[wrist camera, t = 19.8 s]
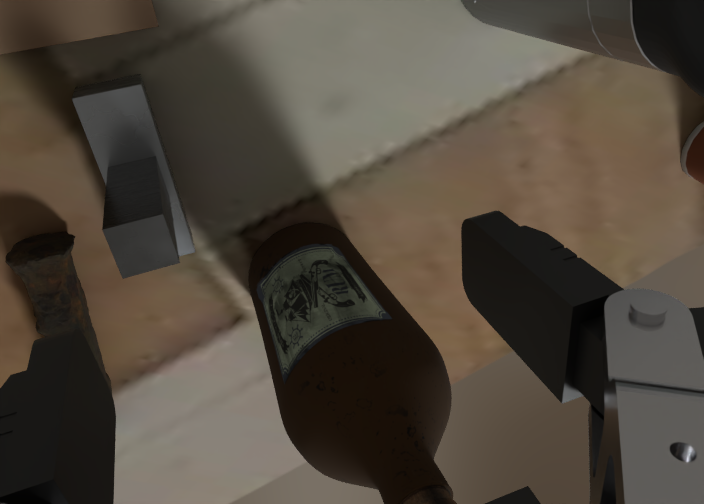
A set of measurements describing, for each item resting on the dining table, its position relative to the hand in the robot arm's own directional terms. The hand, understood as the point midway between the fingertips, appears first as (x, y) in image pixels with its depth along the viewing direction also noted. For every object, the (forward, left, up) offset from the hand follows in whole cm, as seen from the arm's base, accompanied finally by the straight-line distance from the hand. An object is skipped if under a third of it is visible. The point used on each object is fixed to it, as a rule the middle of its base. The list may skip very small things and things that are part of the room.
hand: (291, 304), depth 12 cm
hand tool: (+13, +19, -30) cm, 38 cm away
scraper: (+5, +7, -30) cm, 31 cm away
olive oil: (-5, +19, -30) cm, 36 cm away
